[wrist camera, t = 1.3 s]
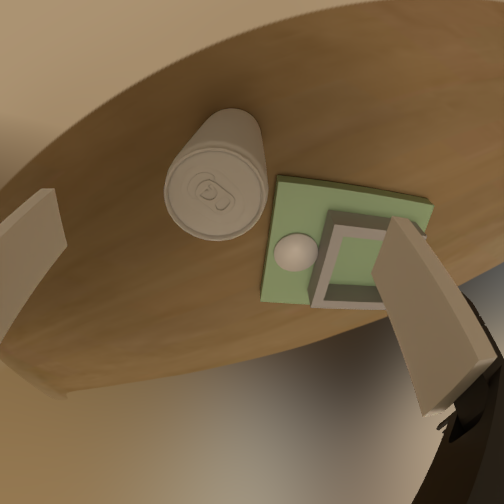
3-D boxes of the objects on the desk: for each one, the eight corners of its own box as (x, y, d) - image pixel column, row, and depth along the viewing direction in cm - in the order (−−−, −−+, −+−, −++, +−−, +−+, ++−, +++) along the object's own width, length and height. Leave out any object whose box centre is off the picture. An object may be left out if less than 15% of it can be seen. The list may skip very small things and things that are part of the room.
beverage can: (229, 95, 21) (206, 120, 11) (274, 134, 23) (292, 194, 13) (190, 139, 23) (141, 202, 13) (234, 175, 25) (221, 260, 15)
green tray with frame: (260, 291, 32) (260, 319, 29) (277, 174, 25) (281, 194, 21) (386, 298, 33) (396, 323, 30) (427, 198, 25) (447, 218, 22)
